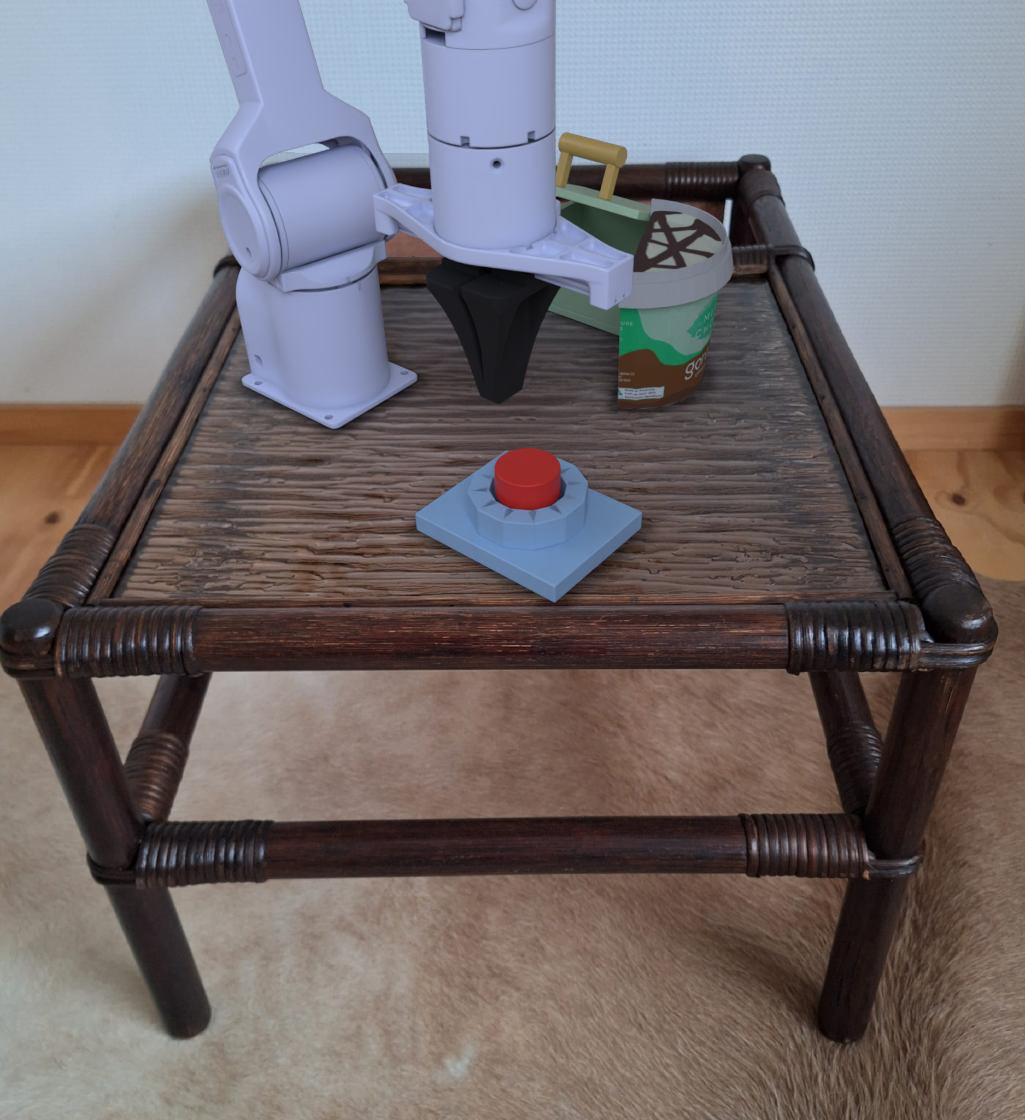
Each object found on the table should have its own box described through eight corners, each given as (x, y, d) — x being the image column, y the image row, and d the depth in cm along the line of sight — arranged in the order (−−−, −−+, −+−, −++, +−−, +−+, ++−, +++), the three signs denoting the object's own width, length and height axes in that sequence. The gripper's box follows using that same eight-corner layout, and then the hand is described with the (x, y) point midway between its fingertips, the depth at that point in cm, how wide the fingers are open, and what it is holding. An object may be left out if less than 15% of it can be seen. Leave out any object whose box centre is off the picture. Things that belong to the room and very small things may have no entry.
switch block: (416, 530, 61) (411, 487, 59) (506, 465, 66) (504, 424, 64) (554, 603, 56) (554, 560, 54) (641, 528, 61) (644, 485, 59)
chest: (630, 340, 77) (633, 280, 74) (501, 293, 83) (499, 237, 80) (706, 288, 83) (712, 231, 80) (580, 248, 89) (581, 194, 86)
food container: (709, 431, 68) (725, 285, 61) (613, 420, 69) (619, 275, 63) (729, 338, 77) (746, 202, 71) (644, 329, 78) (653, 195, 72)
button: (481, 495, 59) (480, 469, 58) (523, 465, 61) (522, 440, 60) (532, 520, 57) (532, 494, 56) (573, 488, 59) (574, 462, 58)
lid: (636, 219, 71) (654, 153, 70) (496, 179, 77) (510, 117, 76) (711, 231, 80) (728, 173, 78) (580, 193, 86) (593, 139, 85)
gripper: (679, 133, 46) (660, 404, 55) (433, 76, 53) (450, 323, 62) (580, 184, 42) (576, 467, 51) (328, 114, 49) (363, 373, 58)
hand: (501, 392), depth 56 cm, fingers closed
